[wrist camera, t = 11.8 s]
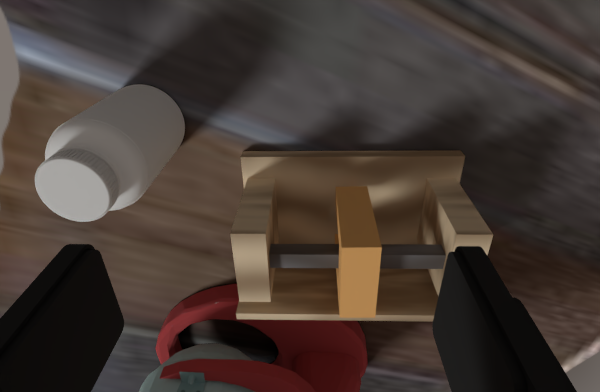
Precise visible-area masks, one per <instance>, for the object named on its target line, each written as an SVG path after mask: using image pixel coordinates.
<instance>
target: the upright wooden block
mask: <svg viewBox="0 0 600 392" xmlns="http://www.w3.org/2000/svg"><path fill="white" fill-rule="evenodd" d="M335 205H336V216H337V227H338V234H335V244H339V268H336V275H337V288H338V302H339V315H340V318H375V315H376V304H377V294H378V283H379V272H380V262H381V251H382V246H381V242H380V238H379V233H378V229H377V225H376V221H375V217H374V213H373V209H372V204H371V200H370V196H369V192H368V188H367V186H351V187H336V196H335Z"/></svg>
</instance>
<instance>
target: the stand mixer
mask: <svg viewBox="0 0 600 392" xmlns="http://www.w3.org/2000/svg"><path fill="white" fill-rule="evenodd" d="M238 302H239V294H238V287H237V284H230V285H224V286H219V287H213V288H210V289H207V290H204V291H201V292H198V293H196V294H194V295H192V296H190V297H188V298H186V299H185V300H183V301H181V302H180V303H179V304H178V305H177V306H175V307H174V308H173V309H172V310H171V311H170V313H169V315H168V316H167V318H166V319H165V321H164V324H163V326H162V328H161V331H160V333H159V336H158V340H157V344H156V352H157V355H158V358H159V360H160V363H161V365H160V366H159V367H158V369H156V370H155V371H153V372H152V373H150V374H149V375H148V377H147V378H146V380H145V381H144V382H143V384H142V386H141V388H140V391H139V392H359V390H360V385H361V377H362V376H363V375H364V373H365V370H366V367H367V364H368V361H367V349H366V341H365V335H364V333H363V331H362V329H361V326H360V324H359V323H358V321H346V320H258V319H237V317H236V311H237V307H238ZM211 319H223V320H235V321H238V322H241V323H245V324H248V325H251V326H254V327H255V328H257V329H258V330H260V331H261V332H263V333H264V334H266V335H267V336H268V337H270V338H271V339H272V340H273V341H274V342H275V344H276V346H277V348H278V350H279V355H278V357H277V358H276V360H275V361H274V362H273V363H272V364H268V363H264V362H260V361H253V360H252V359H250V358H249V357H248V356H246V355H245V354H244V353H242V352H241V351H240V350H238V349H236V348H233V347H230V346H227V345H223V344H217V343H207V344H198V345H195V346H192V347H190V348H187V349H184V350H182V347H181V344H180V342H179V339H178V334H179V333H180V332H181V331H183V330H184V329H185V328H186V327H187V326H189V325H190V324H192V323H197V322H202V321H206V320H211Z"/></svg>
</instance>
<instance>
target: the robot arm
mask: <svg viewBox="0 0 600 392" xmlns="http://www.w3.org/2000/svg"><path fill="white" fill-rule="evenodd" d="M123 327H124V319H123V316H122V313H121V310H120V307H119V304H118V301H117V299H116V296H115V293H114V290H113V287H112V285H111V282H110V279H109V276H108V273H107V270H106V268H105V265H104V262H103V259H102V256H101V254H100V252H99V251H98V250H95V249H94V247H93V246H92V245H89V244H69V245H66V246H65V247H63V248H62V250H61V251H60V252H59V253H58V254H57V255H56V256H55V257H54V259H53V260H52V261H51V262H50V263H49V264H48V265H47V267H46V268H45V269H44V270H43V271H42V272H41V273H40V274H39V276H38V277H37V278H36V279H35V280H34V281H33V282H32V283H31V285H30V286H29V287H28V288H27V289H26V290H25V291H24V292H23V294H22V295H21V296H20V297H19V298H18V299H17V300H16V301H15V303H14V304H13V305H12V306H11V307H10V308H9V309H8V311H7V312H6V313H5V314H4V315H3V316H2V317H1V318H0V392H91V390H92V389H93V387H94V385H95V383H96V381H97V379H98V377H99V375H100V373H101V371H102V369H103V367H104V366H105V364H106V362H107V360H108V358H109V356H110V354H111V352H112V350H113V348H114V346H115V345H116V343H117V341H118V339H119V337H120V335H121V333H122V331H123ZM433 335H434V338H435V341H436V344H437V348H438V351H439V354H440V357H441V360H442V363H443V366H444V369H445V372H446V375H447V378H448V382H449V385H450V388H451V391H452V392H577V391H576V390H575V388H574V386H573V385H572V383H571V382H570V380H569V378H568V377H567V375H566V373H565V372H564V370H563V369H562V367H561V365H560V364H559V362H558V360H557V359H556V357H555V356H554V354H553V352H552V351H551V349H550V347H549V346H548V344H547V343H546V341H545V339H544V338H543V336H542V334H541V333H540V331H539V330H538V328H537V326H536V325H535V323H534V321H533V320H532V318H531V317H530V315H529V313H528V312H527V310H526V308H525V307H524V305H523V304H522V303H521V301H520V300H518V299H517V298H512V296H511V295H510V293H509V291H508V290H507V288H506V286H505V285H504V283H503V281H502V280H501V278H500V276H499V275H498V273H497V271H496V270H495V268H494V266H493V265H492V263H491V261H490V260H489V258H488V256H487V255H486V253H485V251H484V250H483V248H482V247H480V246H458V247H456V249H455V251H454V252H449V253H448V256H447V261H446V265H445V270H444V274H443V279H442V283H441V288H440V292H439V296H438V301H437V305H436V310H435V314H434V319H433Z"/></svg>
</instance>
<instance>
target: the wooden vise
mask: <svg viewBox="0 0 600 392" xmlns="http://www.w3.org/2000/svg"><path fill="white" fill-rule="evenodd" d="M464 160H465V155H464V154H463V153H462V152H461V150H426V151H243V152H242V155H241V165H242V175H243V184H244V191H243V195H242V198H241V201H240V204H239V208H238V211H237V214H236V217H235V220H234V224H233V227H232V230H231V233H230V235H231V242H232V250H233V257H234V265H235V272H236V280H237V287H238V294H239V302H238V307H237V311H236V317H237V319H258V320H346V321H433V319H434V314H435V310H436V305H437V301H438V296H439V292H440V288H441V283H442V279H443V274H444V270H445V265H446V261H447V256H448V253H449V252H454V251H455V249H456V247H458V246H480V247H482V248H483V250H484V251H485V253H486V255H488V252H489V248H490V245H491V242H492V238H493V233H492V232H491V230H490V229H489V227H488V226H487V224H486V223H485V221H484V220H483V218H482V217H481V215H480V214H479V212H478V211H477V209H476V208H475V206H474V205H473V203H472V202H471V200H470V199H469V197H468V196H467V194H466V193H465V191H464V190H463V188H462V187H461V185H460V184H459V183H460V179H461V174H462V169H463V165H464ZM351 186H367V188H368V192H369V196H370V200H371V204H372V209H373V213H374V217H375V221H376V225H377V229H378V233H379V238H380V242H381V246H382V251H381V262H380V272H379V283H378V294H377V304H376V315H375V318H340V315H339V302H338V288H337V275H336V268H339V244H335V234H338V227H337V216H336V205H335V196H336V187H351Z"/></svg>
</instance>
